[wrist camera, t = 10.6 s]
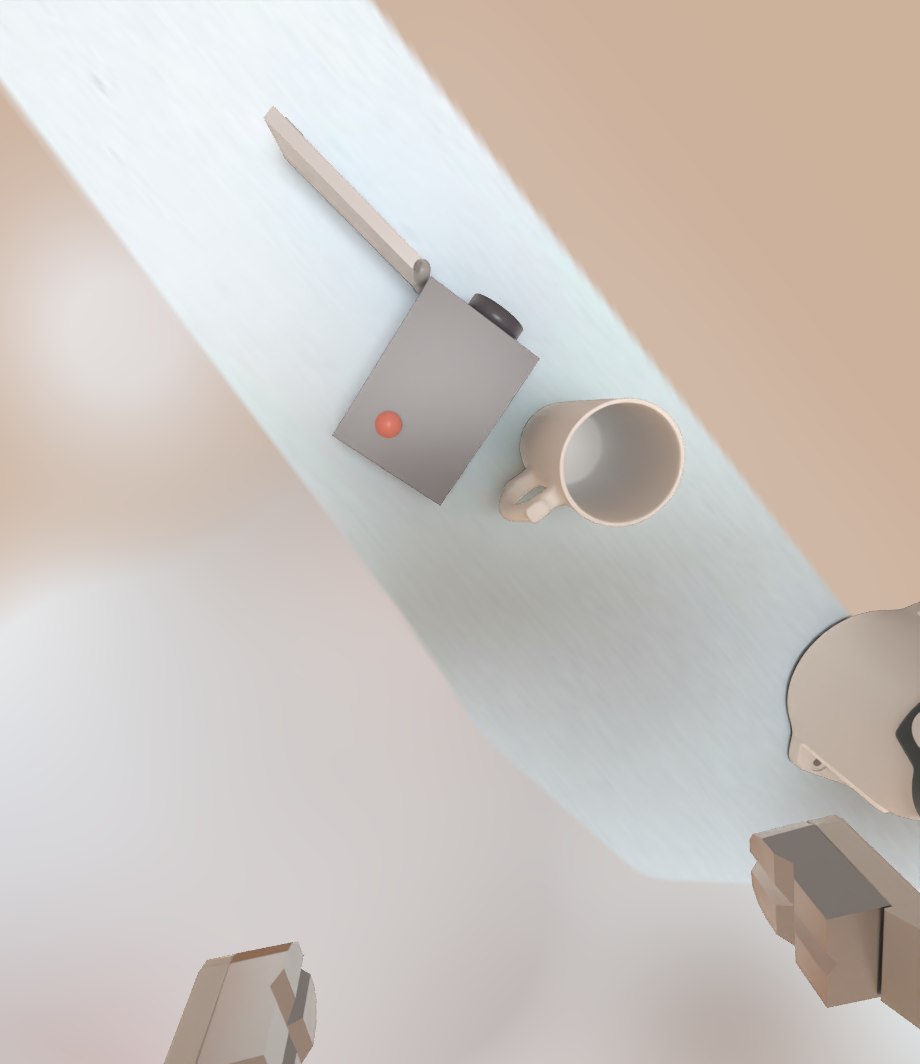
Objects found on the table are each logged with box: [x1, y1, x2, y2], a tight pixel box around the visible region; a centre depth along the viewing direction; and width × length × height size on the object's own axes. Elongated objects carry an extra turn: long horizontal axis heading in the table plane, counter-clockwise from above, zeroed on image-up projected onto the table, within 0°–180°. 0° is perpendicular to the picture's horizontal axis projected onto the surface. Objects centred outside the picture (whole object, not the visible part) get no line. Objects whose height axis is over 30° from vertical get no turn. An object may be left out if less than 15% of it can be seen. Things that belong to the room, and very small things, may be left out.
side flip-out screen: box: [264, 106, 430, 294], centre depth 31 cm, size 1×12×5 cm, turn 47°
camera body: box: [332, 277, 540, 505], centre depth 34 cm, size 8×12×6 cm, turn 146°
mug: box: [499, 398, 685, 527], centre depth 33 cm, size 10×7×12 cm, turn 123°
